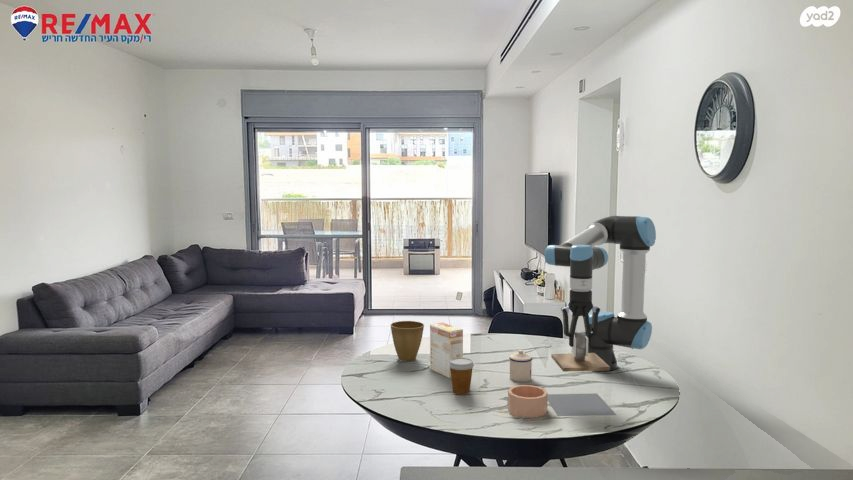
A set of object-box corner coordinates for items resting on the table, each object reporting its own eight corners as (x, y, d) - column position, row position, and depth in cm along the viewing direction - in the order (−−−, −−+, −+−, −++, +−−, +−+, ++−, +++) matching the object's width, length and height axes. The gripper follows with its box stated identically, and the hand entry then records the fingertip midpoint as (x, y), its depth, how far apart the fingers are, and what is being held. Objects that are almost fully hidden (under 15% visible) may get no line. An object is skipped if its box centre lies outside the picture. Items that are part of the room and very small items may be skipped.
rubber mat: (596, 394, 217) (596, 393, 217) (616, 416, 197) (616, 414, 197) (543, 396, 216) (543, 394, 216) (557, 417, 197) (557, 415, 197)
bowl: (541, 403, 209) (541, 384, 208) (550, 418, 196) (551, 398, 195) (505, 404, 208) (505, 385, 208) (512, 419, 196) (512, 398, 195)
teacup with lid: (535, 381, 232) (536, 352, 231) (514, 383, 230) (514, 354, 229) (523, 371, 244) (523, 344, 243) (503, 373, 242) (503, 346, 241)
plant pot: (412, 366, 252) (412, 330, 251) (384, 360, 260) (383, 325, 258) (430, 357, 265) (430, 322, 263) (403, 352, 272) (402, 318, 271)
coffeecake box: (463, 375, 240) (463, 329, 238) (449, 379, 236) (449, 331, 234) (443, 366, 252) (443, 321, 250) (429, 369, 248) (429, 324, 247)
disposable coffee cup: (447, 387, 226) (447, 357, 224) (471, 387, 226) (471, 356, 225) (450, 396, 216) (450, 365, 215) (475, 395, 217) (475, 364, 216)
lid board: (594, 356, 214) (595, 326, 213) (610, 370, 198) (610, 338, 197) (551, 357, 213) (551, 327, 212) (563, 371, 197) (563, 339, 196)
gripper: (559, 292, 199) (559, 359, 201) (608, 291, 199) (606, 357, 202) (554, 287, 206) (553, 352, 209) (600, 287, 207) (599, 351, 209)
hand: (579, 355), depth 205 cm, fingers closed on lid board, 4 cm apart
